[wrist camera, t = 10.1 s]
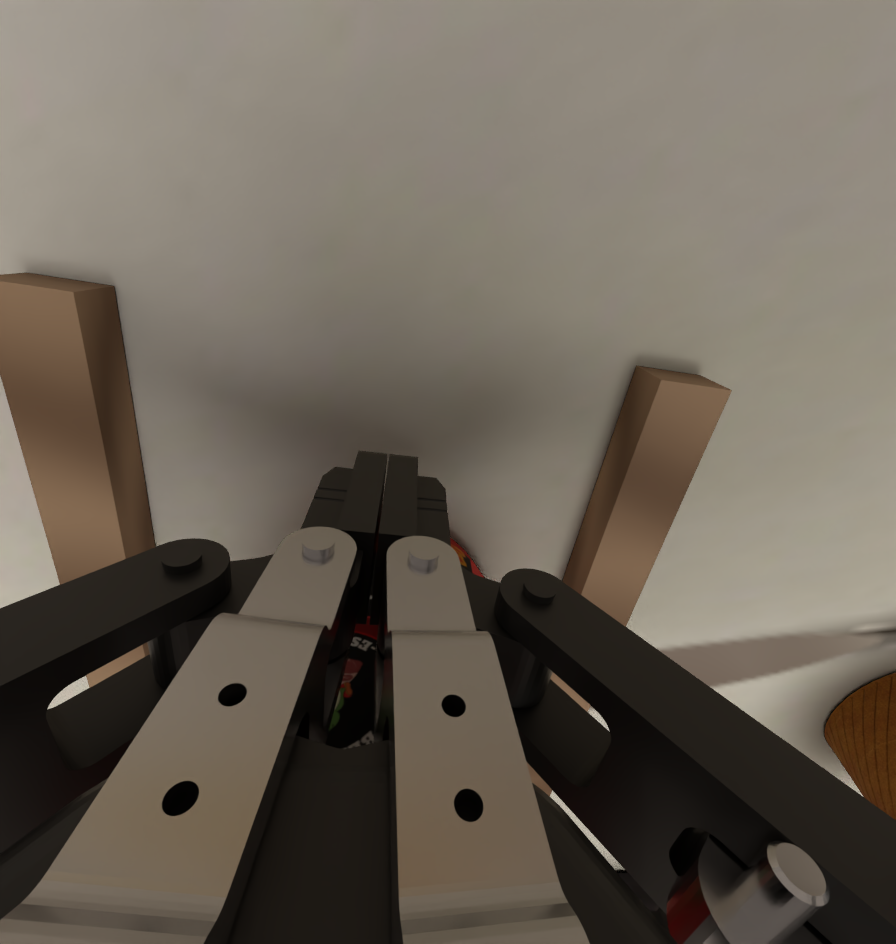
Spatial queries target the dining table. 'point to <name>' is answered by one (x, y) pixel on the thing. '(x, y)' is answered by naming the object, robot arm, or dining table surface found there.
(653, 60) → the dining table surface
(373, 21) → the dining table surface
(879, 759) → the disposable coffee cup
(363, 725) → the canned food
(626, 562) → the walnut bay
